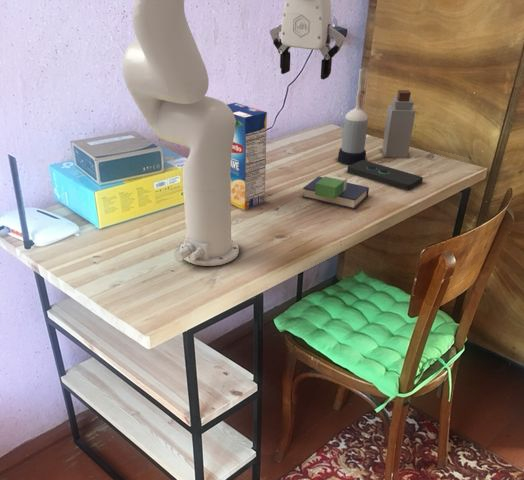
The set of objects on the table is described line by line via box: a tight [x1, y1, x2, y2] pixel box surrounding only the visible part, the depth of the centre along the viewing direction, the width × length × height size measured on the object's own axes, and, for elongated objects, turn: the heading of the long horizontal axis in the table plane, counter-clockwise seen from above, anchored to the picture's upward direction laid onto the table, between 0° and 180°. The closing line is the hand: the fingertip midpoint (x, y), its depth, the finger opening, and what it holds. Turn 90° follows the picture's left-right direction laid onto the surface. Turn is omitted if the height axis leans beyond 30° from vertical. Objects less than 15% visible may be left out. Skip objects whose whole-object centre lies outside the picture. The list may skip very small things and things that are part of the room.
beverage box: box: [226, 102, 268, 211], centre depth 142 cm, size 7×11×22 cm, turn 44°
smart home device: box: [346, 159, 424, 191], centre depth 163 cm, size 8×2×20 cm
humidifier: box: [337, 68, 369, 166], centre depth 167 cm, size 8×8×25 cm
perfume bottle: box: [381, 89, 416, 159], centre depth 175 cm, size 7×7×18 cm
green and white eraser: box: [315, 174, 348, 199], centre depth 147 cm, size 7×5×3 cm
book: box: [302, 175, 370, 210], centre depth 151 cm, size 9×14×3 cm, turn 61°
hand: (304, 75), depth 130 cm, fingers open, 9 cm apart
